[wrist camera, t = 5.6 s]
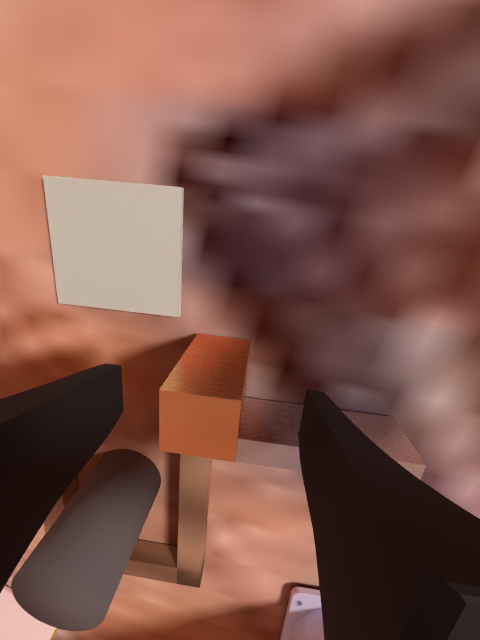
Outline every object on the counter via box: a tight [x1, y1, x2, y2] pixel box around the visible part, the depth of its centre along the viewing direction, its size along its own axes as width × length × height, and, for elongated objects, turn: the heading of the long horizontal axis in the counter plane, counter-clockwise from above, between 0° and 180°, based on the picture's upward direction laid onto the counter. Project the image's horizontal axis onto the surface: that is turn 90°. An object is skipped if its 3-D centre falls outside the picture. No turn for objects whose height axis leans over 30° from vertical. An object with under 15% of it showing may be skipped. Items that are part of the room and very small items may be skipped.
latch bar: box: [159, 334, 426, 480], centre depth 11 cm, size 4×10×5 cm, turn 85°
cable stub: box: [11, 449, 161, 631], centre depth 14 cm, size 4×4×6 cm
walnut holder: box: [44, 454, 211, 588], centre depth 16 cm, size 12×10×1 cm
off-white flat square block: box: [43, 175, 184, 317], centre depth 12 cm, size 6×6×1 cm
